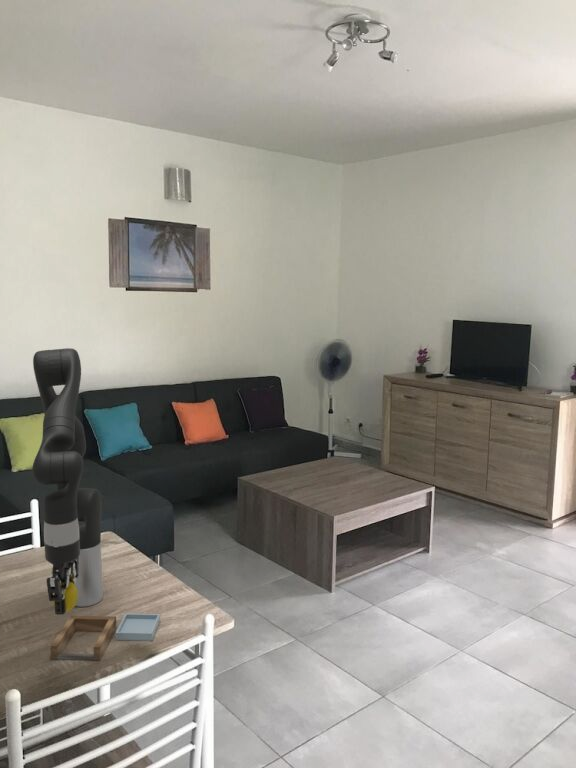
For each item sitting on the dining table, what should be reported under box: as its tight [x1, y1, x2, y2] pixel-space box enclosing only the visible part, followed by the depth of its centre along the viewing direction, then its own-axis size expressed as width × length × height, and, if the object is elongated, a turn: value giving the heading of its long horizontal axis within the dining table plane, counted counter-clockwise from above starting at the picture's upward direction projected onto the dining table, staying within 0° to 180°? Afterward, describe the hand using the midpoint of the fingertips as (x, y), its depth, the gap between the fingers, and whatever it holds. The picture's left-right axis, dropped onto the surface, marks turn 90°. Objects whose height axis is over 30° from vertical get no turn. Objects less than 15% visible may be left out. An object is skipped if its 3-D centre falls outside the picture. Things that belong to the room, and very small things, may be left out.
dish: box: [115, 613, 161, 642], centre depth 167 cm, size 9×9×2 cm
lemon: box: [52, 581, 78, 614], centre depth 145 cm, size 6×6×8 cm
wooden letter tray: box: [50, 615, 117, 661], centre depth 160 cm, size 14×12×4 cm
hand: (65, 606), depth 146 cm, fingers closed on lemon, 5 cm apart
